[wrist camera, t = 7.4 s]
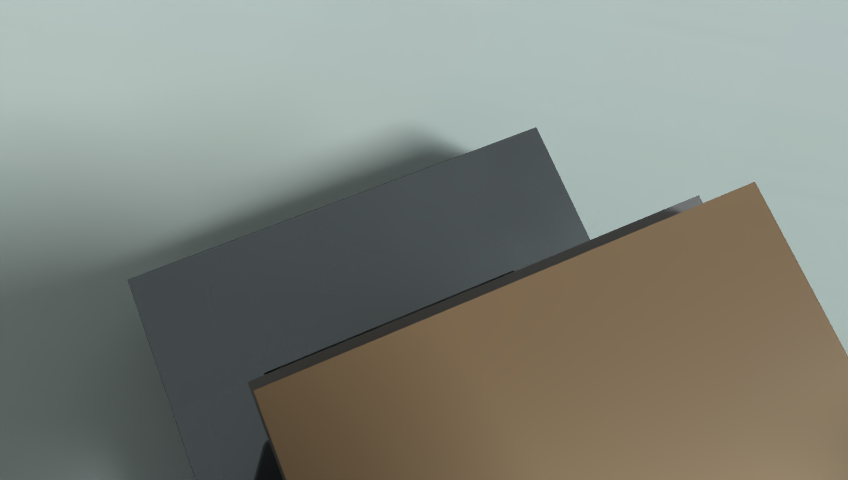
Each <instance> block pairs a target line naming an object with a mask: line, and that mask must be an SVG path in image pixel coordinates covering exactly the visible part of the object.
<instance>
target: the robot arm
mask: <svg viewBox="0 0 848 480" xmlns="http://www.w3.org/2000/svg"><path fill="white" fill-rule="evenodd" d="M254 480H283V478H282V475H281V472H280V470H279V467H278V464H277V461H276V459H275V456H274V453H273V451H272V448H271V445H270V442H269V440H266V441H265V443H264V444H263V447H262V451H261V454H260V458H259V462H258V465H257V469H256V473H255V476H254Z"/></svg>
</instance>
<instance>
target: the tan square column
mask: <svg viewBox="0 0 848 480" xmlns="http://www.w3.org/2000/svg"><path fill="white" fill-rule="evenodd" d="M248 385H249V388H250V391H251V393H252V396H253V399H254V401H255V404H256V407H257V410H258V412H259V415H260V418H261V421H262V423H263V426H264V429H265V431H266V434H267V437H268V440H269V442H270V445H271V448H272V451H273V453H274V456H275V459H276V461H277V464H278V467H279V470H280V472H281V475H282V478H283V480H848V356H847V354H846V352H845V350H844V348H843V347H842V345H841V343H840V341H839V339H838V337H837V335H836V333H835V331H834V330H833V328H832V326H831V324H830V322H829V320H828V318H827V316H826V315H825V313H824V311H823V309H822V307H821V305H820V303H819V301H818V300H817V298H816V296H815V294H814V292H813V290H812V288H811V286H810V285H809V283H808V281H807V279H806V277H805V275H804V273H803V271H802V269H801V268H800V266H799V264H798V262H797V260H796V258H795V256H794V254H793V253H792V251H791V249H790V247H789V245H788V243H787V241H786V239H785V238H784V236H783V234H782V232H781V230H780V228H779V226H778V224H777V223H776V221H775V219H774V217H773V215H772V213H771V211H770V209H769V207H768V206H767V204H766V202H765V200H764V198H763V196H762V194H761V192H760V191H759V189H758V187H757V185H756V183H755V182H753V183H751V184H748V185H746V186H744V187H741V188H739V189H736V190H734V191H732V192H729V193H727V194H724V195H722V196H720V197H717V198H715V199H712V200H710V201H708V202H705V203H702V201H701V199H700V197H699V195H698V196H696V197H694V198H691V199H689V200H686V201H684V202H682V203H679V204H677V205H674V206H672V207H669V208H667V209H665V210H662V211H660V212H657V213H655V214H653V215H650V216H648V217H645V218H643V219H640V220H638V221H636V222H633V223H631V224H628V225H626V226H624V227H621V228H619V229H616V230H614V231H611V232H609V233H607V234H604V235H602V236H599V237H597V238H594V239H592V240H590V241H587V242H585V243H582V244H580V245H578V246H575V247H573V248H570V249H568V250H565V251H563V252H561V253H558V254H556V255H553V256H551V257H549V258H546V259H544V260H541V261H539V262H536V263H534V264H532V265H529V266H527V267H524V268H522V269H519V270H517V271H515V272H512V273H510V274H507V275H505V276H503V277H500V278H498V279H495V280H493V281H490V282H488V283H486V284H483V285H481V286H478V287H476V288H474V289H471V290H469V291H466V292H464V293H461V294H459V295H457V296H454V297H452V298H449V299H447V300H444V301H442V302H440V303H437V304H435V305H432V306H430V307H428V308H425V309H423V310H420V311H418V312H415V313H413V314H411V315H408V316H406V317H403V318H401V319H399V320H396V321H394V322H391V323H389V324H386V325H384V326H382V327H379V328H377V329H374V330H372V331H370V332H367V333H365V334H362V335H360V336H357V337H355V338H353V339H350V340H348V341H345V342H343V343H340V344H338V345H336V346H333V347H331V348H328V349H326V350H324V351H321V352H319V353H316V354H314V355H311V356H309V357H307V358H304V359H302V360H299V361H297V362H295V363H292V364H290V365H287V366H285V367H282V368H280V369H278V370H275V371H273V372H270V373H268V374H265V375H263V376H261V377H258V378H256V379H253V380H251V381H249V382H248Z"/></svg>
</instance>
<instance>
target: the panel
mask: <svg viewBox="0 0 848 480" xmlns="http://www.w3.org/2000/svg"><path fill="white" fill-rule="evenodd" d="M587 241H590V239H589V237H588V235H587V232H586V230H585V228H584V226H583V224H582V222H581V220H580V218H579V216H578V214H577V212H576V209H575V207H574V205H573V203H572V201H571V199H570V197H569V195H568V193H567V191H566V189H565V186H564V184H563V182H562V180H561V178H560V176H559V174H558V172H557V170H556V168H555V166H554V163H553V161H552V159H551V157H550V155H549V153H548V151H547V149H546V147H545V145H544V143H543V140H542V138H541V136H540V134H539V132H538V130H537V128H533V129H530V130H528V131H525V132H522V133H520V134H517V135H514V136H512V137H509V138H506V139H504V140H501V141H498V142H496V143H493V144H490V145H488V146H485V147H482V148H479V149H477V150H474V151H471V152H469V153H466V154H463V155H461V156H458V157H455V158H453V159H450V160H447V161H445V162H442V163H439V164H437V165H434V166H431V167H429V168H426V169H423V170H421V171H418V172H415V173H413V174H410V175H407V176H404V177H402V178H399V179H396V180H394V181H391V182H388V183H386V184H383V185H380V186H378V187H375V188H372V189H370V190H367V191H364V192H362V193H359V194H356V195H354V196H351V197H348V198H346V199H343V200H340V201H338V202H335V203H332V204H329V205H327V206H324V207H321V208H319V209H316V210H313V211H311V212H308V213H305V214H303V215H300V216H297V217H295V218H292V219H289V220H287V221H284V222H281V223H279V224H276V225H273V226H271V227H268V228H265V229H263V230H260V231H257V232H254V233H252V234H249V235H246V236H244V237H241V238H238V239H236V240H233V241H230V242H228V243H225V244H222V245H220V246H217V247H214V248H212V249H209V250H206V251H204V252H201V253H198V254H196V255H193V256H190V257H188V258H185V259H182V260H179V261H177V262H174V263H171V264H169V265H166V266H163V267H161V268H158V269H155V270H153V271H150V272H147V273H145V274H142V275H139V276H137V277H134V278H131V279H129V280H128V282H129V285H130V288H131V291H132V294H133V297H134V300H135V303H136V306H137V309H138V311H139V314H140V317H141V320H142V323H143V326H144V329H145V332H146V335H147V338H148V341H149V344H150V347H151V350H152V352H153V355H154V358H155V361H156V364H157V367H158V370H159V373H160V376H161V379H162V382H163V385H164V388H165V391H166V393H167V396H168V399H169V402H170V405H171V408H172V411H173V414H174V417H175V420H176V423H177V426H178V429H179V432H180V434H181V437H182V440H183V443H184V446H185V449H186V452H187V455H188V458H189V461H190V464H191V467H192V470H193V473H194V475H195V478H196V480H254V476H255V473H256V469H257V465H258V462H259V458H260V454H261V451H262V447H263V444H264V443H265V441H266V440H268V437H267V434H266V431H265V429H264V426H263V423H262V421H261V418H260V415H259V412H258V410H257V407H256V404H255V401H254V399H253V396H252V393H251V391H250V388H249V385H248V382H249V381H251V380H253V379H256V378H258V377H261V376H263V375H265V374H268V373H270V372H273V371H275V370H278V369H280V368H282V367H285V366H287V365H290V364H292V363H295V362H297V361H299V360H302V359H304V358H307V357H309V356H311V355H314V354H316V353H319V352H321V351H324V350H326V349H328V348H331V347H333V346H336V345H338V344H340V343H343V342H345V341H348V340H350V339H353V338H355V337H357V336H360V335H362V334H365V333H367V332H370V331H372V330H374V329H377V328H379V327H382V326H384V325H386V324H389V323H391V322H394V321H396V320H399V319H401V318H403V317H406V316H408V315H411V314H413V313H415V312H418V311H420V310H423V309H425V308H428V307H430V306H432V305H435V304H437V303H440V302H442V301H444V300H447V299H449V298H452V297H454V296H457V295H459V294H461V293H464V292H466V291H469V290H471V289H474V288H476V287H478V286H481V285H483V284H486V283H488V282H490V281H493V280H495V279H498V278H500V277H503V276H505V275H507V274H510V273H512V272H515V271H517V270H519V269H522V268H524V267H527V266H529V265H532V264H534V263H536V262H539V261H541V260H544V259H546V258H549V257H551V256H553V255H556V254H558V253H561V252H563V251H565V250H568V249H570V248H573V247H575V246H578V245H580V244H582V243H585V242H587Z"/></svg>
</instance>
